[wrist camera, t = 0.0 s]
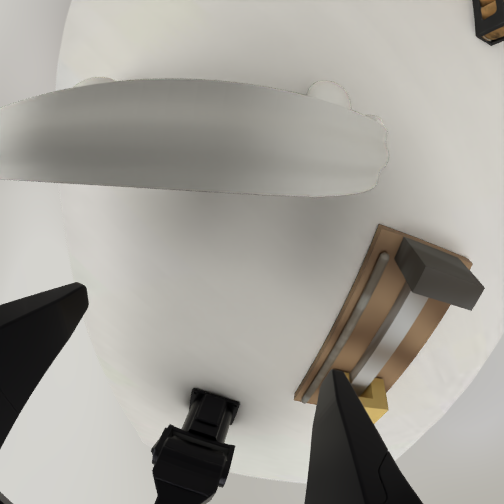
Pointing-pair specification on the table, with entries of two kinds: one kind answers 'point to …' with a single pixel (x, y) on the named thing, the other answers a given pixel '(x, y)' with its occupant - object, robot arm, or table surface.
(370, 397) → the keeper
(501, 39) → the ammunition clip
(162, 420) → the table surface
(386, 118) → the table surface
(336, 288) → the table surface
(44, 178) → the headset
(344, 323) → the rail board
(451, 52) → the table surface
